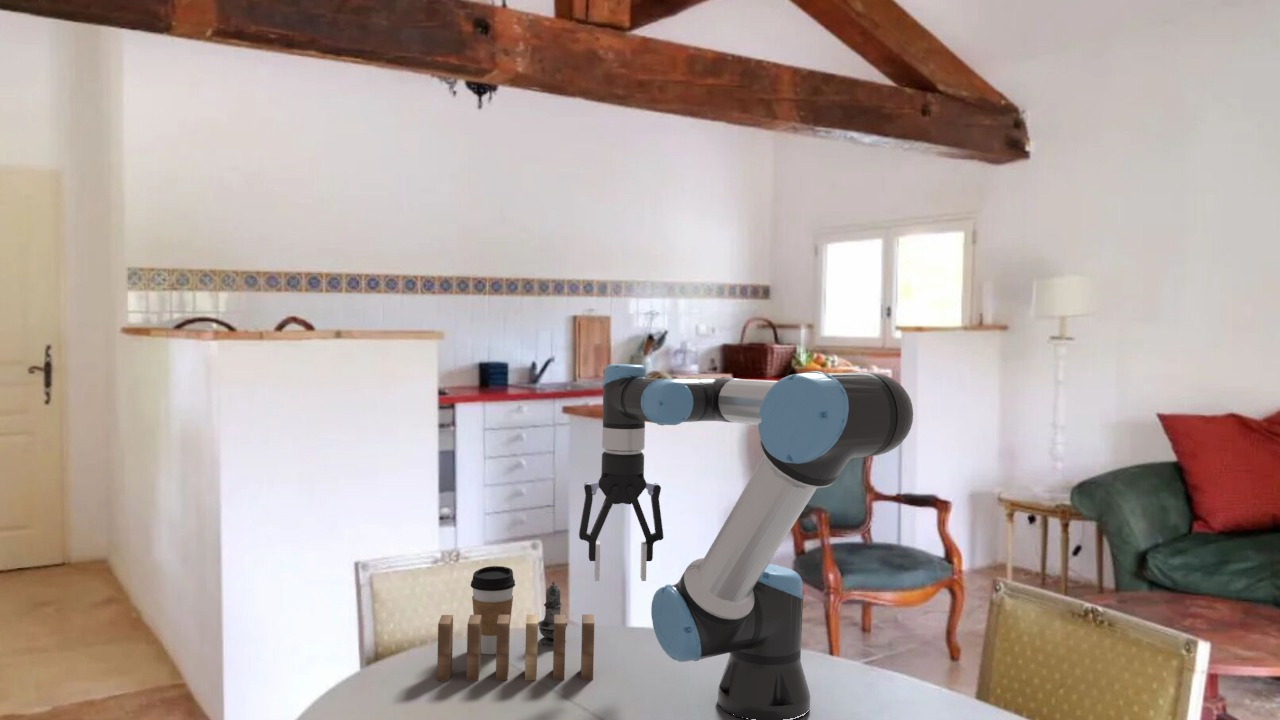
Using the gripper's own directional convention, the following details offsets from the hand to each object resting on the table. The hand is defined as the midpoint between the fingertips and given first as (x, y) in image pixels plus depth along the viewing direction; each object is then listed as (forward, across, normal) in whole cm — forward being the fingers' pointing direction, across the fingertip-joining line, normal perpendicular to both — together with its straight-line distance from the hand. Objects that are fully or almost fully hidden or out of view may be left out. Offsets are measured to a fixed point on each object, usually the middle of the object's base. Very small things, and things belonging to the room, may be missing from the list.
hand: (620, 578), depth 167 cm
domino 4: (+17, +10, 0) cm, 20 cm away
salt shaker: (+17, +12, -18) cm, 27 cm away
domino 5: (+17, +6, 0) cm, 18 cm away
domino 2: (+17, +26, 0) cm, 31 cm away
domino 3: (+17, +20, 0) cm, 27 cm away
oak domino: (+17, +15, 0) cm, 23 cm away
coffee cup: (+17, +23, -13) cm, 32 cm away
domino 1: (+17, +30, 0) cm, 35 cm away
